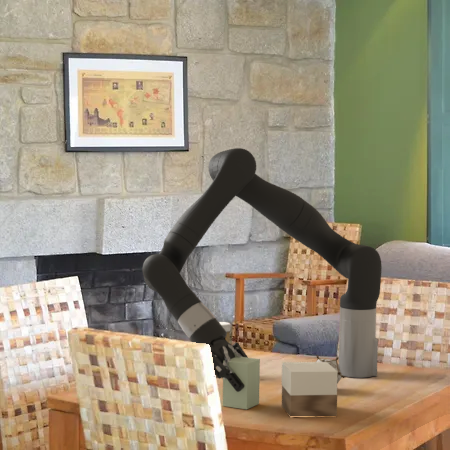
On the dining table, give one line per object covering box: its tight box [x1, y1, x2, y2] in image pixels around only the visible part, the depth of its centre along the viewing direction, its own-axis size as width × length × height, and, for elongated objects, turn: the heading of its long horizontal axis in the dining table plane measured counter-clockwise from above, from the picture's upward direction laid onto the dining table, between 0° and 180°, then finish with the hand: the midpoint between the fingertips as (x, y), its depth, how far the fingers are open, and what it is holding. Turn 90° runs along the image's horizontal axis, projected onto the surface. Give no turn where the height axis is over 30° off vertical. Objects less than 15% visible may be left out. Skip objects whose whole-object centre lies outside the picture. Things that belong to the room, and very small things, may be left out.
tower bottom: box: [281, 385, 338, 417], centre depth 207 cm, size 10×10×5 cm
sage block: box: [222, 356, 261, 410], centre depth 212 cm, size 6×6×10 cm
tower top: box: [281, 361, 338, 396], centre depth 207 cm, size 10×10×5 cm
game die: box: [315, 355, 346, 385], centre depth 227 cm, size 9×8×10 cm
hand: (248, 386), depth 211 cm, fingers closed on sage block, 6 cm apart
